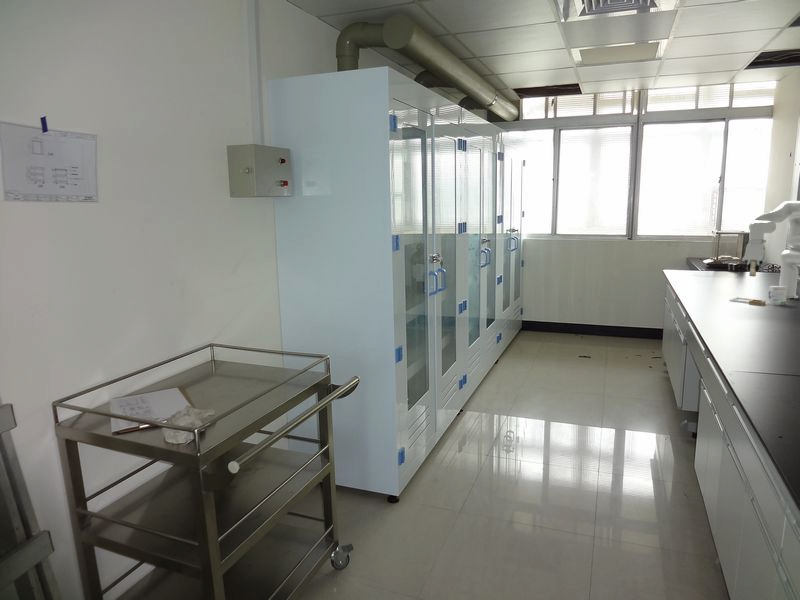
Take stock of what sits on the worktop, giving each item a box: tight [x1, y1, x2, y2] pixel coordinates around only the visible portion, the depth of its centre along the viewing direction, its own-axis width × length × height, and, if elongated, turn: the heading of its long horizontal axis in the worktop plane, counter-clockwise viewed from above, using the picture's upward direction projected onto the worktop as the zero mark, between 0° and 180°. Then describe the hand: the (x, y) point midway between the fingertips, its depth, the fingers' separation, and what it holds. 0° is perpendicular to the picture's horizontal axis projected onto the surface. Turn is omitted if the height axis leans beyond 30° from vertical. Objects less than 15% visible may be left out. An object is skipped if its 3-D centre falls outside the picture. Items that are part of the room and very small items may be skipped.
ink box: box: [766, 285, 787, 306], centre depth 337 cm, size 9×5×12 cm, turn 84°
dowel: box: [749, 260, 757, 278], centre depth 340 cm, size 3×3×10 cm
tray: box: [729, 296, 756, 304], centre depth 349 cm, size 12×11×2 cm
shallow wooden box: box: [748, 298, 767, 307], centre depth 338 cm, size 7×7×3 cm
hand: (752, 270), depth 340 cm, fingers closed on dowel, 3 cm apart
